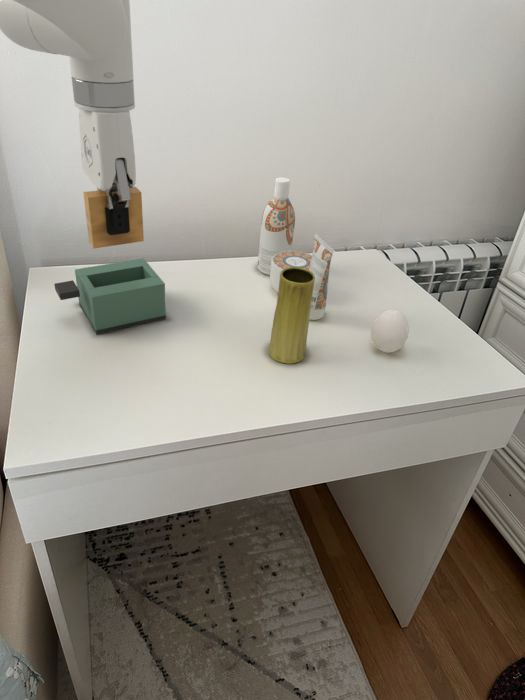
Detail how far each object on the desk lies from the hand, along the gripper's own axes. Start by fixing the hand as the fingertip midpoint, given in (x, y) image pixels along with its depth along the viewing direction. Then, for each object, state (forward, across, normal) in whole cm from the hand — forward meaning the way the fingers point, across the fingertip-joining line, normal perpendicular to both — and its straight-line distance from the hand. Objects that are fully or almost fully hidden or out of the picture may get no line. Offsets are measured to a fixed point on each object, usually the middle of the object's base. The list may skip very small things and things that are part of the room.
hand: (115, 228), depth 79 cm
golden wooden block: (+2, 0, 0) cm, 2 cm away
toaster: (+18, -4, +1) cm, 18 cm away
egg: (+18, +23, +38) cm, 48 cm away
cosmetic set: (+18, 0, +33) cm, 38 cm away
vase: (+18, +17, +22) cm, 33 cm away
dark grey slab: (+12, -4, -7) cm, 15 cm away
